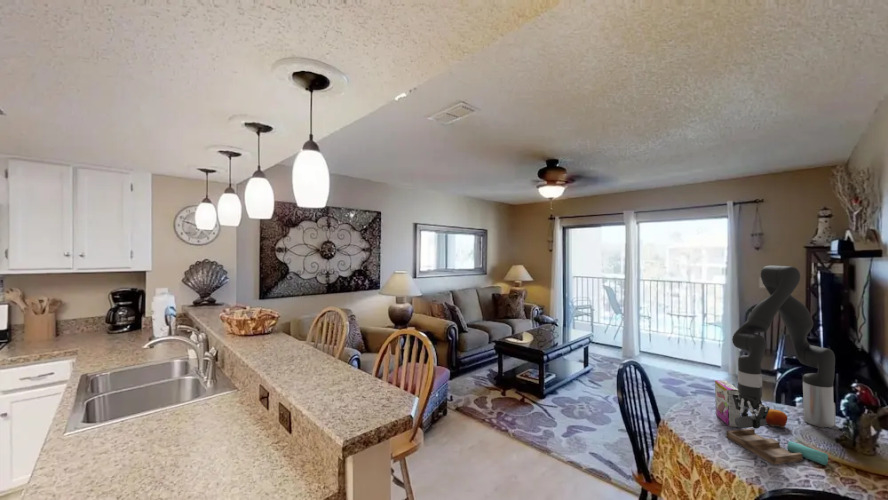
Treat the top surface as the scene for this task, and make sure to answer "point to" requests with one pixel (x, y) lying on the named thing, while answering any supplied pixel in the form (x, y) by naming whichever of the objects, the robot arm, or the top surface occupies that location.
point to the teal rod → (808, 453)
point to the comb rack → (763, 446)
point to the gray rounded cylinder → (747, 422)
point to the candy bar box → (726, 402)
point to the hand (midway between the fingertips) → (750, 425)
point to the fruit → (776, 418)
